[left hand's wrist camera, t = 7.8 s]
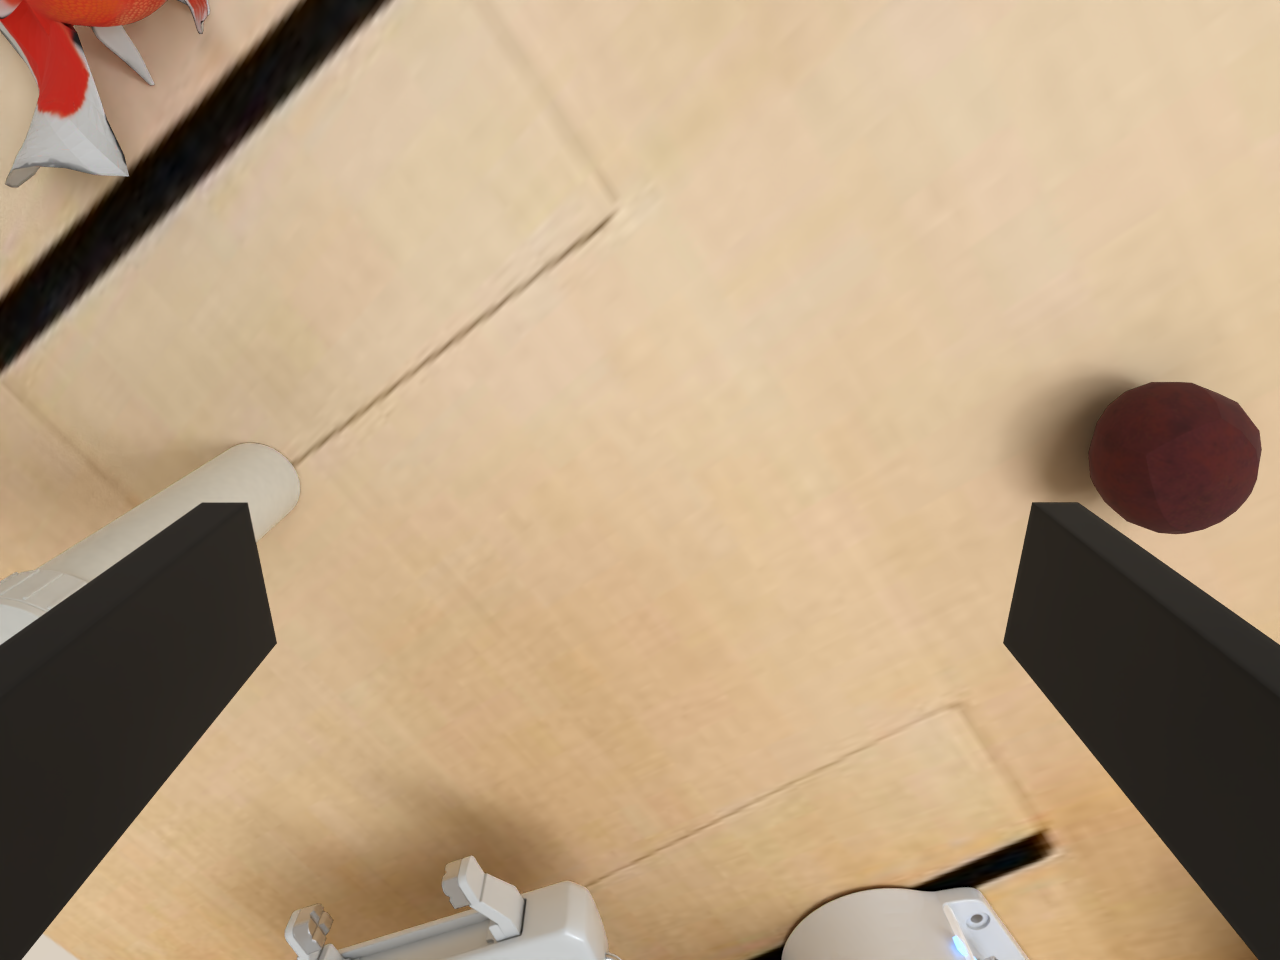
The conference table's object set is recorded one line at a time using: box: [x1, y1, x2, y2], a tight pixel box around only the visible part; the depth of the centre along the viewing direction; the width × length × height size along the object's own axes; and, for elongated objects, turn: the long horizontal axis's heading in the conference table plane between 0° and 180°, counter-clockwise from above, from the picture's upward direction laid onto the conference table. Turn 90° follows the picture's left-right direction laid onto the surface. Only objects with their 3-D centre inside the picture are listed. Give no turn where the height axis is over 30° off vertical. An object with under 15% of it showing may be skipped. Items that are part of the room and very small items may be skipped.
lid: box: [0, 569, 88, 645], centre depth 27 cm, size 5×5×2 cm
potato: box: [1088, 382, 1262, 534], centre depth 38 cm, size 7×8×7 cm
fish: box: [0, 0, 210, 187], centre depth 31 cm, size 11×16×10 cm
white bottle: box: [35, 443, 300, 583], centre depth 34 cm, size 5×5×17 cm
